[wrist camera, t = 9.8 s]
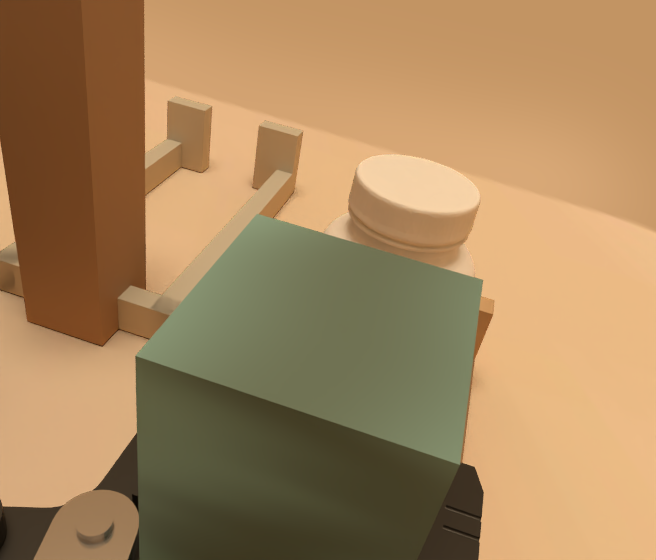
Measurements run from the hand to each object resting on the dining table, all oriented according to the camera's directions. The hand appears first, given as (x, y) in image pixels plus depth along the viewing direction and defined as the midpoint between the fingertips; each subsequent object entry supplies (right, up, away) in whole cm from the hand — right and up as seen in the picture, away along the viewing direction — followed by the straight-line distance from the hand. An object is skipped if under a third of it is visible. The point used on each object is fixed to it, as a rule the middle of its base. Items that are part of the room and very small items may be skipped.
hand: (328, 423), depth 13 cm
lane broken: (-8, +6, +20) cm, 22 cm away
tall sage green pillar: (0, -4, +8) cm, 9 cm away
